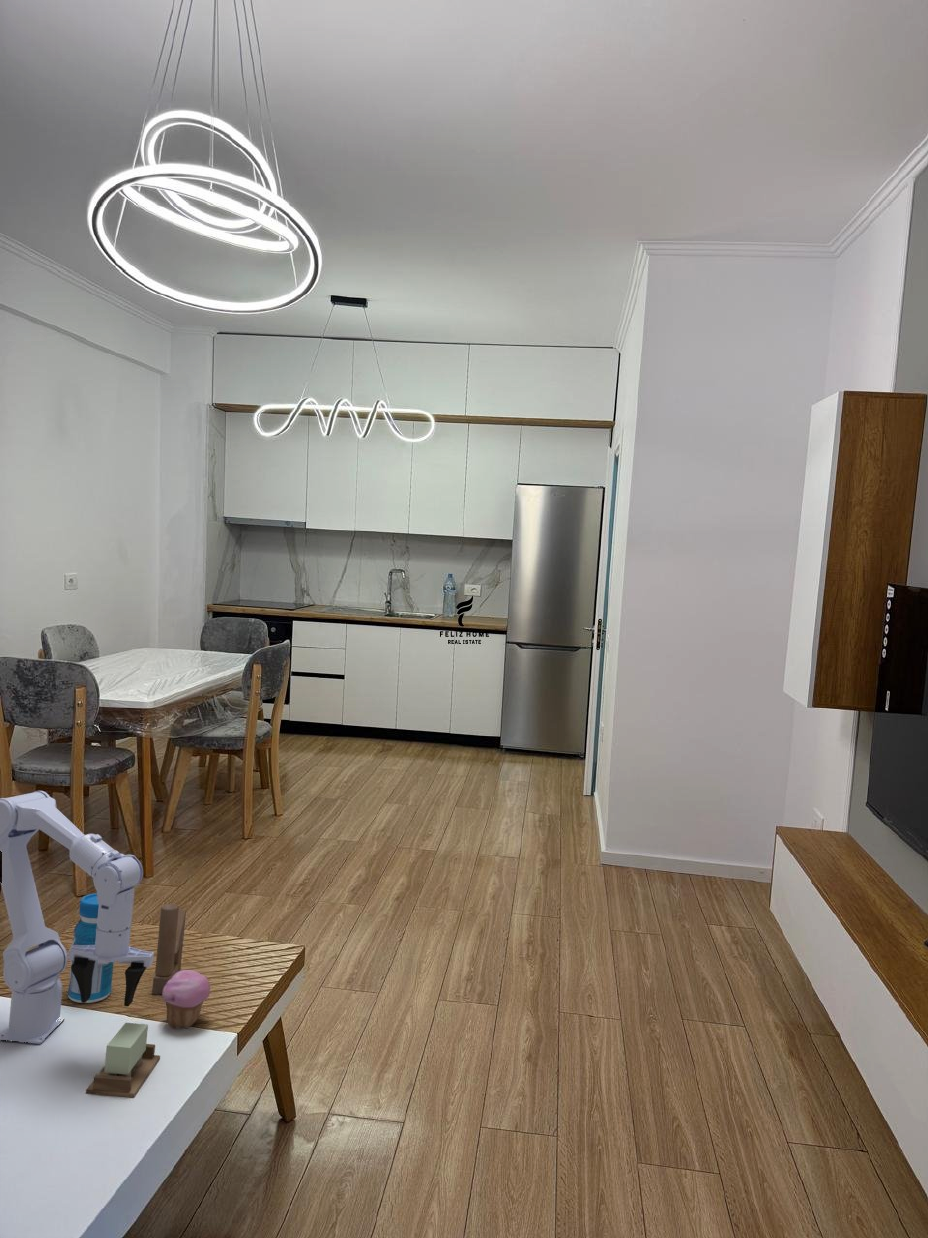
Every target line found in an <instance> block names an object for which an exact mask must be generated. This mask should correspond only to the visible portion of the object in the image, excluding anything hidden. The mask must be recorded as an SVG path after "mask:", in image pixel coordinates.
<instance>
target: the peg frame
mask: <svg viewBox="0 0 928 1238" xmlns="http://www.w3.org/2000/svg"><path fill="white" fill-rule="evenodd" d="M155 1050H156V1044H155V1043H154V1044H151V1043H146V1050H145V1052H144V1053H143V1054H142V1056H141V1057H140V1059H139V1060H138V1061H137V1063H136V1064H135V1065H134V1067H133V1068H132V1070H131V1071H130V1072H129V1074H128V1075H127V1074H116V1073H104V1069H105V1065H104V1066H103V1067H102V1069H101V1070H100V1071H99V1072H98V1073H96V1074H95V1075H94V1076H93V1080H92V1081H91V1083H90V1084H89V1085H88V1087H87V1088H86V1089H85V1094H91V1095H102V1096H113V1097H127V1098H135V1097H136V1095H137V1094H138V1092H139V1091H140V1089H141V1088H142V1086H143V1085H144V1083H145V1082H146V1080H147V1079H148V1077H149V1076H150V1075H151V1073H152V1071H154V1068H156V1066H157V1064H158V1063H159V1061H160V1059H161V1055H159V1054H158V1055H156V1053H155Z"/></svg>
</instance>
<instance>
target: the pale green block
mask: <svg viewBox="0 0 928 1238" xmlns="http://www.w3.org/2000/svg"><path fill="white" fill-rule="evenodd" d="M148 1029H149V1024H146V1023H135V1022H134V1023H133V1022H125V1023H124V1024H123V1025H122V1026H121V1027H120V1029H119V1030H118V1031H117V1033H116V1034H115V1035H114V1036H113V1038H111V1040H110V1041H109V1042H108V1044H107V1045H106V1048H105V1049H106V1050H105V1060H104V1066H105V1069H104V1073H116V1074H127V1075H128V1074H129V1072H130V1071H131V1070H132V1068H133V1067H134V1065H135V1064H136V1063H137V1061H138V1060H139V1059H140V1057H141V1056H142V1054H143V1053H144V1052H145V1050H146V1044H147V1039H148V1031H149V1030H148Z"/></svg>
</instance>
